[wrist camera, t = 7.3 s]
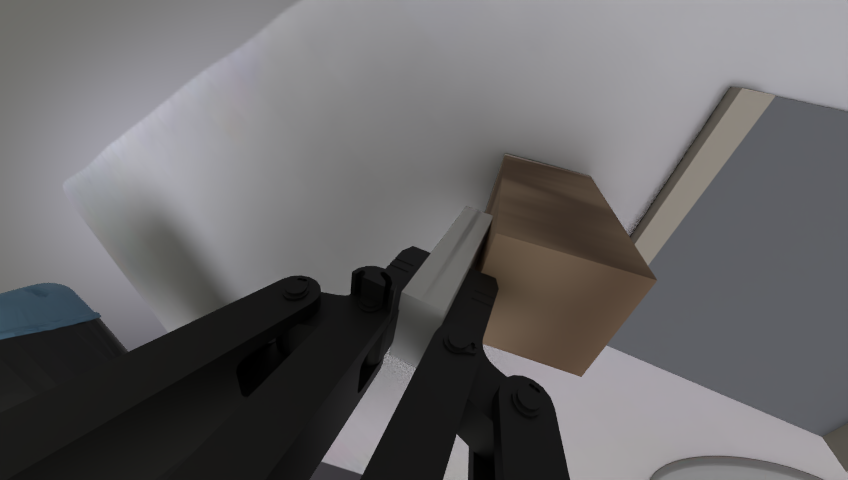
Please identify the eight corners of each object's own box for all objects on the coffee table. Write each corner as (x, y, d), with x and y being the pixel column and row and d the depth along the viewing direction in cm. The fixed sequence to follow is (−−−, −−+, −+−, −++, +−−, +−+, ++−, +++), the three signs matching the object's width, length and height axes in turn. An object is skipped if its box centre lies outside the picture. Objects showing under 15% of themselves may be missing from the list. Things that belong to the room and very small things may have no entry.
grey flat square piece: (570, 326, 22) (570, 350, 20) (730, 86, 14) (756, 89, 12) (837, 438, 19) (868, 481, 17) (1285, 207, 10) (1455, 240, 8)
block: (480, 225, 21) (457, 335, 13) (504, 153, 18) (495, 233, 10) (554, 246, 20) (581, 376, 12) (590, 175, 18) (657, 280, 9)
